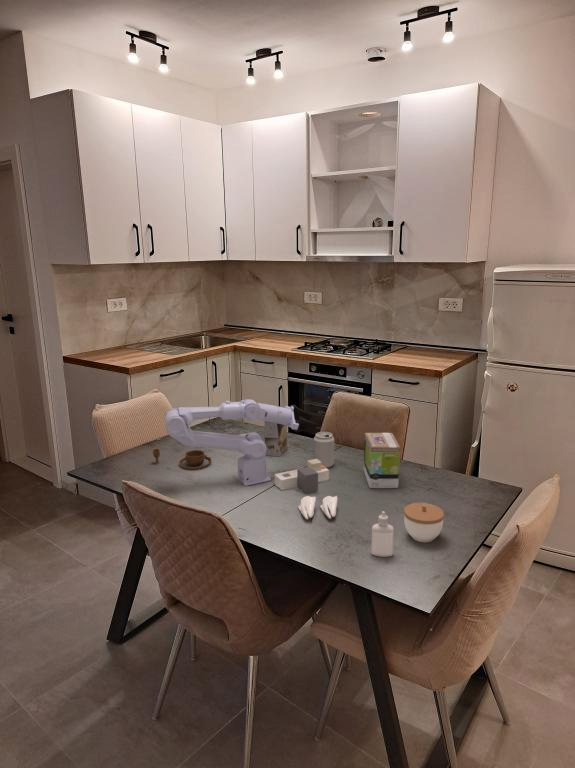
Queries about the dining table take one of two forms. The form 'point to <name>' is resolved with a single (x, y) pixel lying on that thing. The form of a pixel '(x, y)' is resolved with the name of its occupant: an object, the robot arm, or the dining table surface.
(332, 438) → the can
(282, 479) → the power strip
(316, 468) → the beige plug
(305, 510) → the salt and pepper shakers
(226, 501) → the dining table surface
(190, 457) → the place setting
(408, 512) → the lidded jar
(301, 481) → the block
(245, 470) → the robot arm
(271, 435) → the coffee box
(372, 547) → the eye dropper bottle
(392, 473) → the tea box
